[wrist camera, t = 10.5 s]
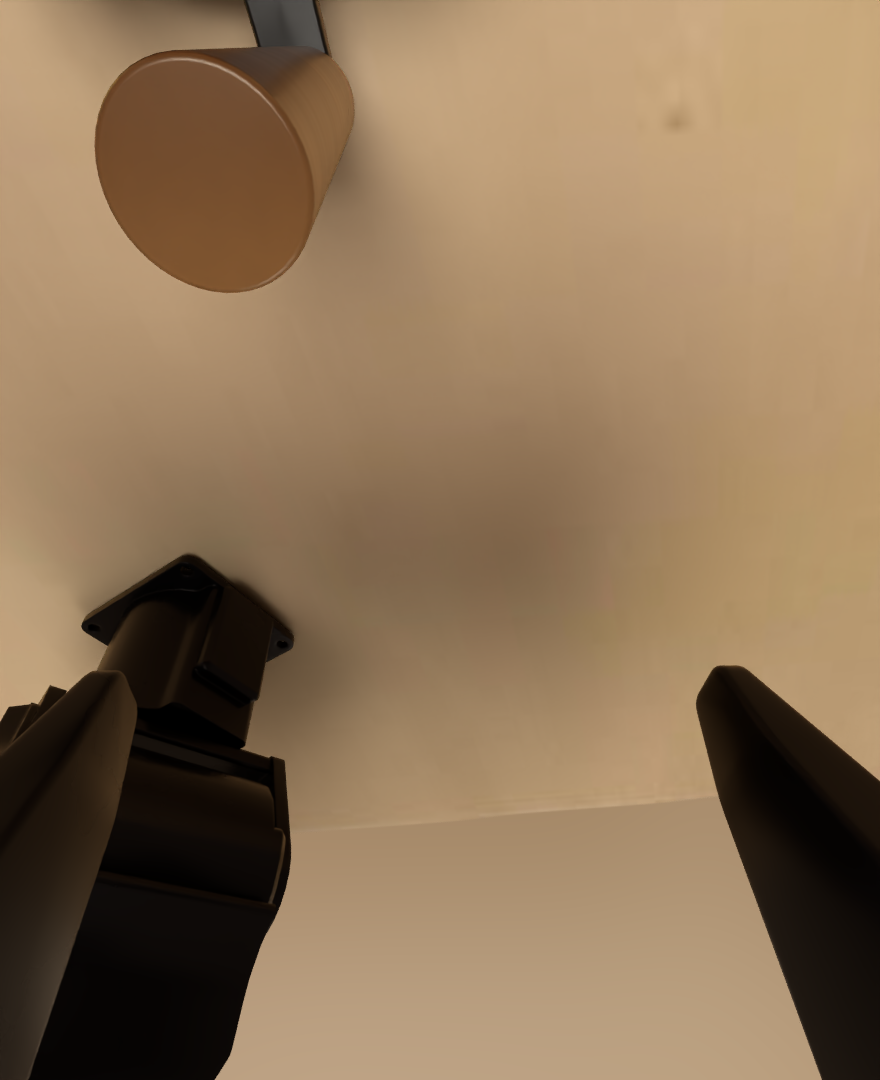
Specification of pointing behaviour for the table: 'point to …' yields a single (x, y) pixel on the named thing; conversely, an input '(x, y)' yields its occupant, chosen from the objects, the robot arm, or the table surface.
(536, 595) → the table surface
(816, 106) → the table surface
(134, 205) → the dish rack
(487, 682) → the table surface
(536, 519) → the table surface
